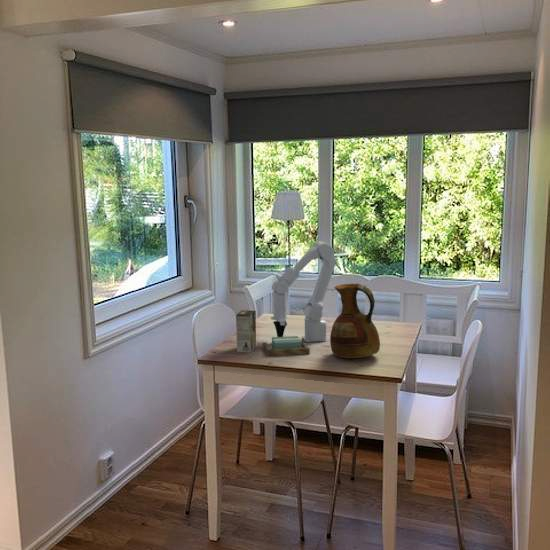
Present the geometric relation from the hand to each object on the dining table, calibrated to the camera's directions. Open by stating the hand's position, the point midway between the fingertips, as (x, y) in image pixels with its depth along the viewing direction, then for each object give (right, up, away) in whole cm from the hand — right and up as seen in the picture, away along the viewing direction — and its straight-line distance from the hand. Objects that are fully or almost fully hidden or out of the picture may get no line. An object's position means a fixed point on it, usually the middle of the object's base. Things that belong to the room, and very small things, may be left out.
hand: (280, 337), depth 263 cm
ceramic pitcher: (+30, -6, -22) cm, 38 cm away
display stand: (+2, -4, -12) cm, 13 cm away
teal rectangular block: (+3, -4, -13) cm, 14 cm away
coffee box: (-14, -4, -11) cm, 18 cm away
